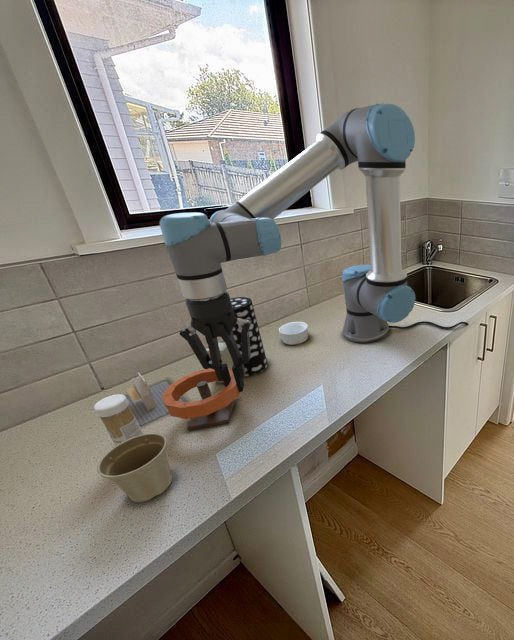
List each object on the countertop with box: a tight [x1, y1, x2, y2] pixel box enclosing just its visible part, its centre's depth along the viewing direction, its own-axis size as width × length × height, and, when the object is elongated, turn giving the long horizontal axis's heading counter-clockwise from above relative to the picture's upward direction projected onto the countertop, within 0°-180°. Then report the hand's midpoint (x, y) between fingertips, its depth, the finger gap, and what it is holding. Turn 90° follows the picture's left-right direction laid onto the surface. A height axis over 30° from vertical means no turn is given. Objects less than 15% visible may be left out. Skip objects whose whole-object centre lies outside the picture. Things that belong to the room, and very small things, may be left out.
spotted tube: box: [230, 296, 268, 377], centre depth 91 cm, size 8×8×20 cm
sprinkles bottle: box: [93, 393, 144, 447], centre depth 65 cm, size 5×5×13 cm
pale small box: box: [205, 341, 234, 383], centre depth 88 cm, size 5×4×10 cm
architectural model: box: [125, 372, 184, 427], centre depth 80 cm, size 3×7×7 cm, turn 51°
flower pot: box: [96, 432, 173, 503], centre depth 59 cm, size 9×9×9 cm
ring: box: [162, 368, 241, 420], centre depth 75 cm, size 14×14×3 cm
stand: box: [186, 381, 236, 431], centre depth 76 cm, size 8×8×9 cm
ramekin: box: [278, 321, 309, 346], centre depth 109 cm, size 9×9×4 cm
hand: (236, 389), depth 77 cm, fingers closed on ring, 2 cm apart
